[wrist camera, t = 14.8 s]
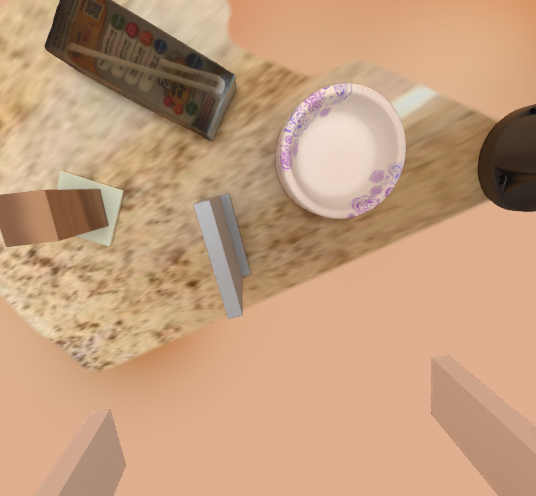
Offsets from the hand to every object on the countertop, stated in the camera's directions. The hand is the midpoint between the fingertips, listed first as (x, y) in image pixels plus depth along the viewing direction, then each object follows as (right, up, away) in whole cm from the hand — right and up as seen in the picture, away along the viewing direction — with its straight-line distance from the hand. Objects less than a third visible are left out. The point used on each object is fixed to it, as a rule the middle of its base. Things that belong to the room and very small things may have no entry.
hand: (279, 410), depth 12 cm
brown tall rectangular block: (-25, +12, +27) cm, 39 cm away
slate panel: (-6, +8, +30) cm, 32 cm away
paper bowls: (+8, +19, +29) cm, 36 cm away
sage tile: (-25, +12, +27) cm, 39 cm away
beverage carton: (-15, +28, +25) cm, 41 cm away
